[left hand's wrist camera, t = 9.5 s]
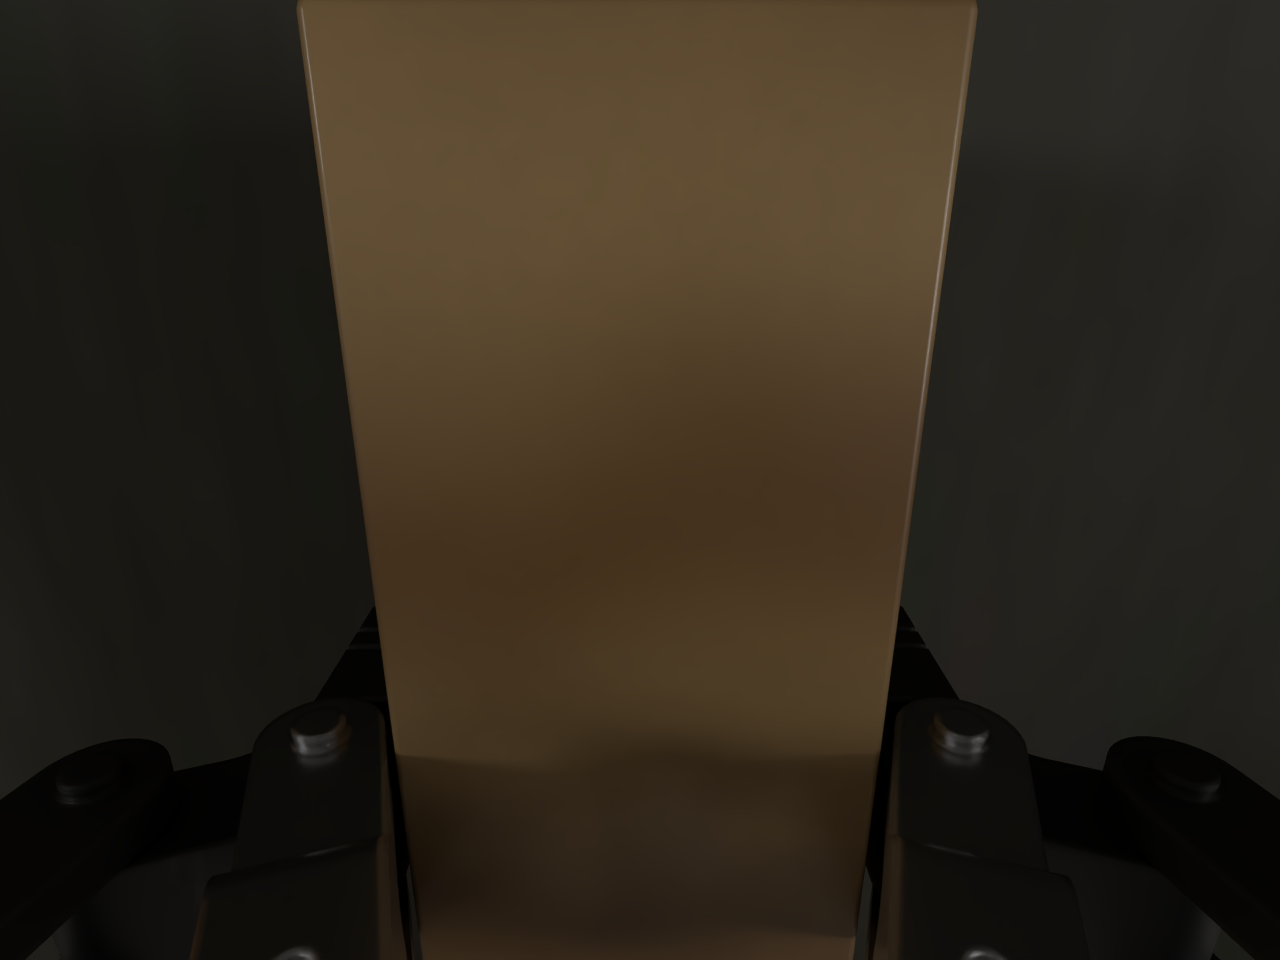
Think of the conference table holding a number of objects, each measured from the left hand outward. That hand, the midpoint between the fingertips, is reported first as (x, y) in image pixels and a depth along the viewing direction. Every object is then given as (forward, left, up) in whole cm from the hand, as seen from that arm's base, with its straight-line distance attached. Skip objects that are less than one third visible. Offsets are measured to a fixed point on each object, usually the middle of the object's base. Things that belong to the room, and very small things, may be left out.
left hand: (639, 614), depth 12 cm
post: (+15, +11, -4) cm, 19 cm away
